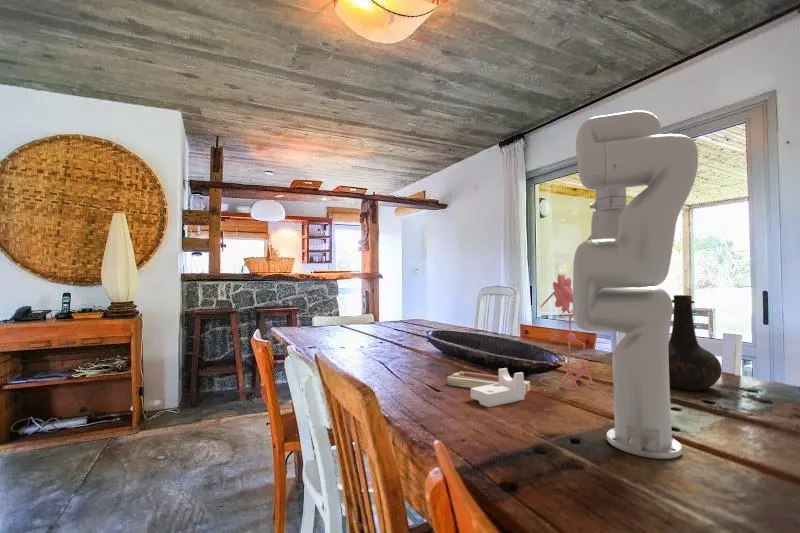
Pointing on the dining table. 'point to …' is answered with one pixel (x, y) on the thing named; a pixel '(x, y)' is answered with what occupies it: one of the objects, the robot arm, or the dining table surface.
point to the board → (476, 382)
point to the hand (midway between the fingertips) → (613, 270)
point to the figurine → (563, 299)
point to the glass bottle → (689, 352)
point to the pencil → (480, 375)
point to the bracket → (501, 390)
